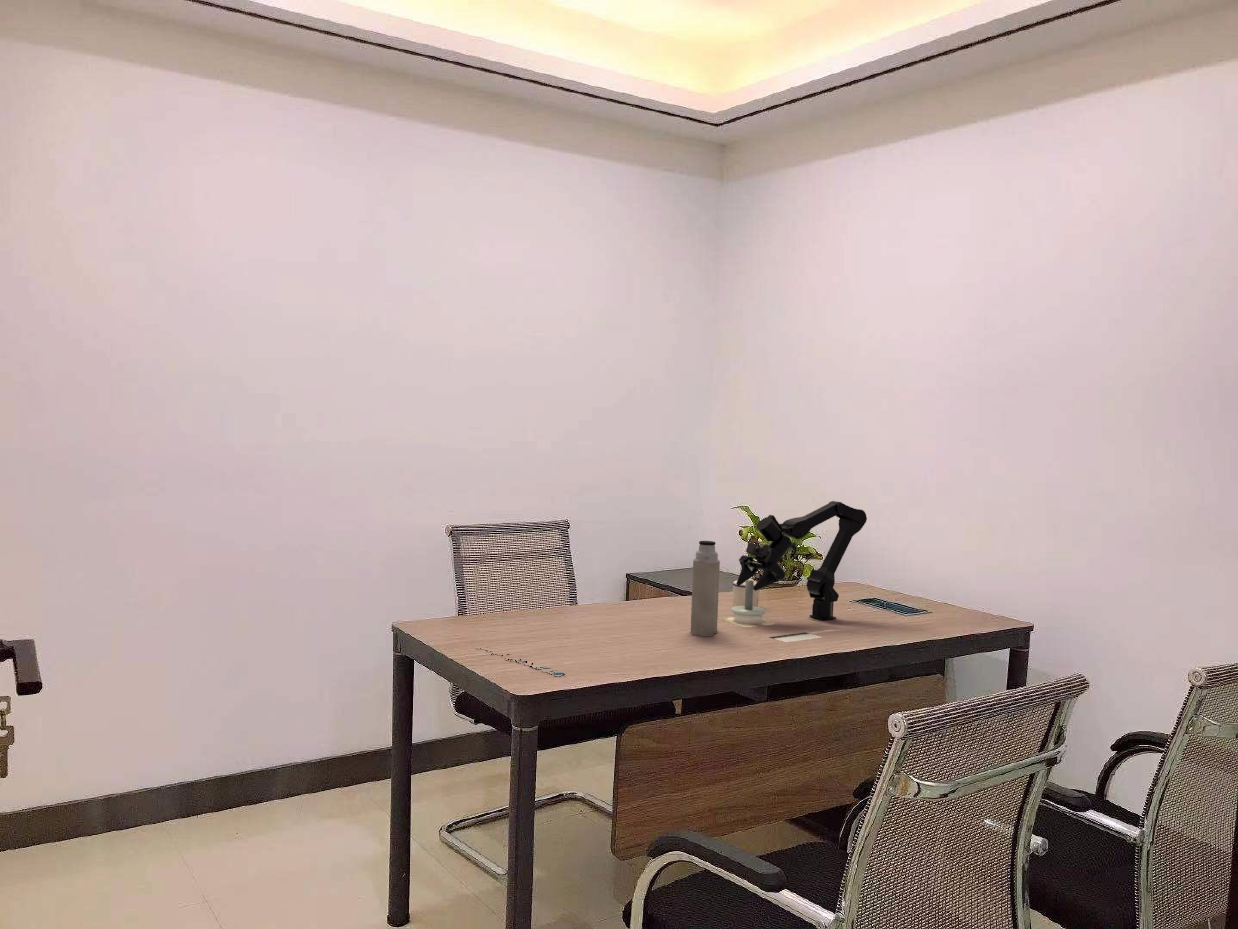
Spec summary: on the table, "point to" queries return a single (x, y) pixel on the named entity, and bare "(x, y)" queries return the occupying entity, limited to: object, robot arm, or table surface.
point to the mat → (795, 637)
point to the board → (731, 620)
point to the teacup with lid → (743, 594)
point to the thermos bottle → (705, 590)
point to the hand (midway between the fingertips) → (745, 587)
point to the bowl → (748, 619)
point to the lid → (748, 603)
